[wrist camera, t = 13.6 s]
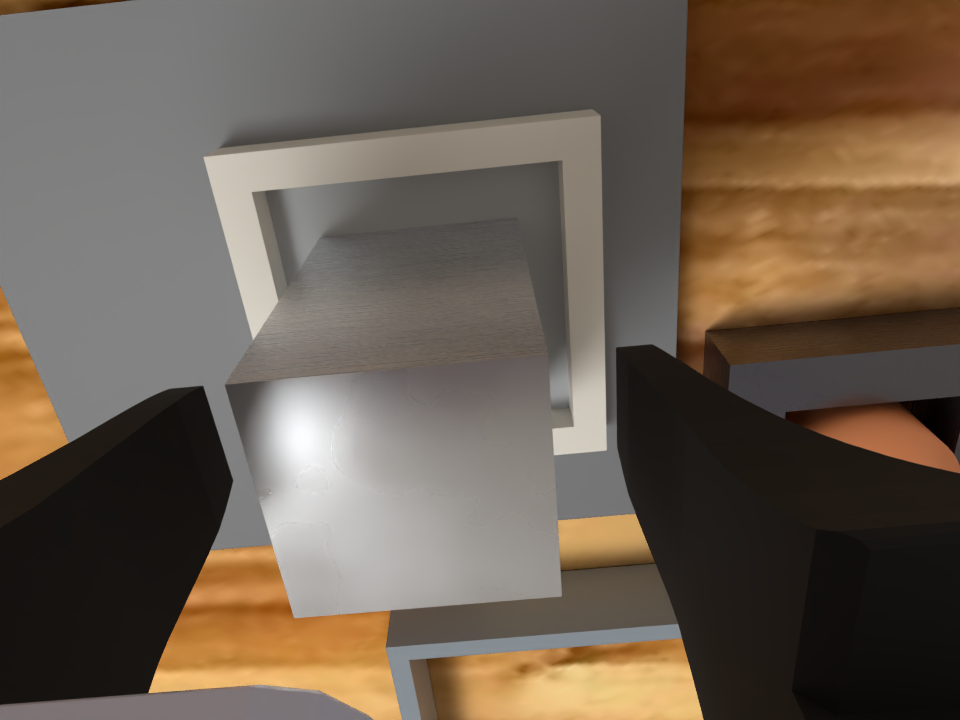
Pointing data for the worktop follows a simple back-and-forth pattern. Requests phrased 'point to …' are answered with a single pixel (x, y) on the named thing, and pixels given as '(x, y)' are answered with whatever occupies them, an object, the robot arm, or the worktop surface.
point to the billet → (405, 423)
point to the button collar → (847, 365)
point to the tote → (528, 626)
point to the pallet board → (334, 187)
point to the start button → (880, 432)
